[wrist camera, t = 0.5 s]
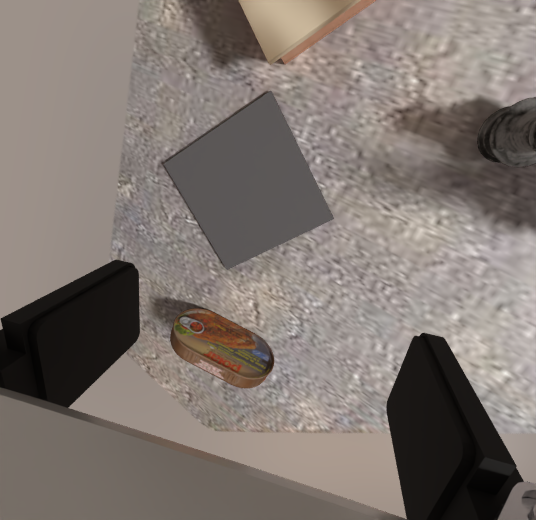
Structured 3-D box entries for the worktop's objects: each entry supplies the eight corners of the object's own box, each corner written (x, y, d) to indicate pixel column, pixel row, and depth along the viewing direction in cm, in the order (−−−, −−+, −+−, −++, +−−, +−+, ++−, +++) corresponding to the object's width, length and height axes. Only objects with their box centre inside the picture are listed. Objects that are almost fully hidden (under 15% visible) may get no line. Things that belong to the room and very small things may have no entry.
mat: (271, 91, 34) (270, 90, 33) (333, 217, 37) (333, 219, 36) (165, 163, 39) (163, 164, 38) (228, 268, 42) (226, 269, 42)
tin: (279, 346, 45) (268, 387, 37) (270, 360, 46) (257, 403, 39) (191, 299, 45) (162, 330, 38) (185, 315, 47) (155, 348, 39)
